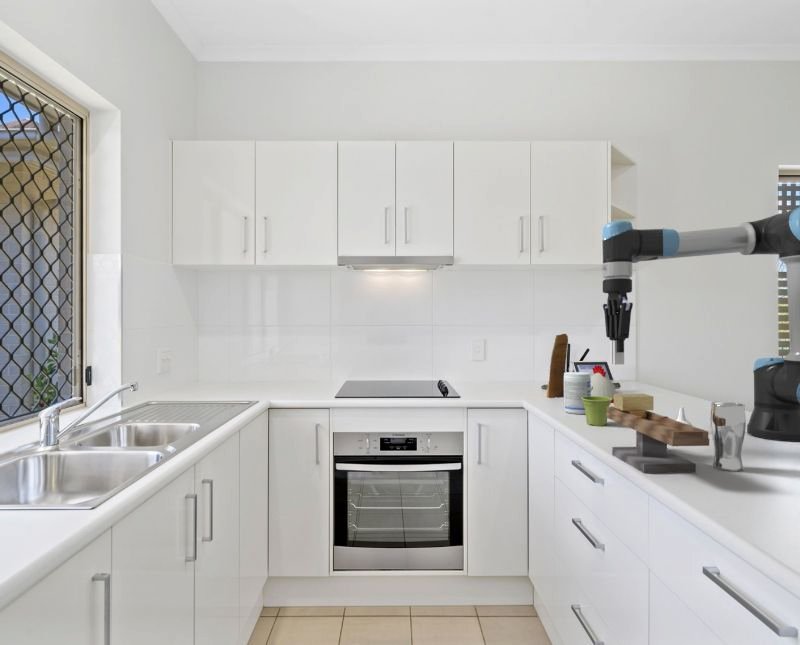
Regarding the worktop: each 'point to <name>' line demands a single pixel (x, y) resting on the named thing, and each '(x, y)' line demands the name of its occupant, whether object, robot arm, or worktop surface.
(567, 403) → the supplement tub
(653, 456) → the balance beam
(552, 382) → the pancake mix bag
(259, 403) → the worktop surface
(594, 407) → the plant pot
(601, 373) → the kitchen timer
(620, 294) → the robot arm
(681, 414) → the garlic bulb
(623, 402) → the brass rider
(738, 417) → the beer glass
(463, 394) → the worktop surface
